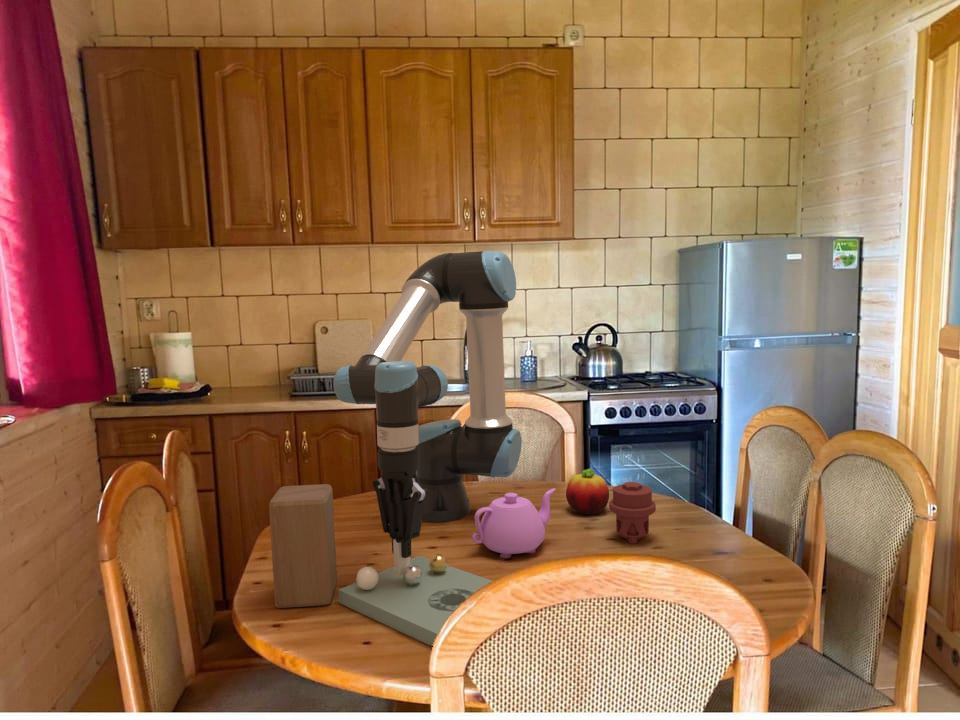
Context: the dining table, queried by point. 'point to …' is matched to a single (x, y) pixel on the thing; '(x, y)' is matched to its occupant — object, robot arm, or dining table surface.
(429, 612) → the board
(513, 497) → the teapot
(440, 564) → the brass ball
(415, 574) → the steel ball
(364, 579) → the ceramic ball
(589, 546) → the dining table surface
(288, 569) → the wooden block
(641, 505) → the mechanical component
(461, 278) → the robot arm
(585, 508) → the fruit
